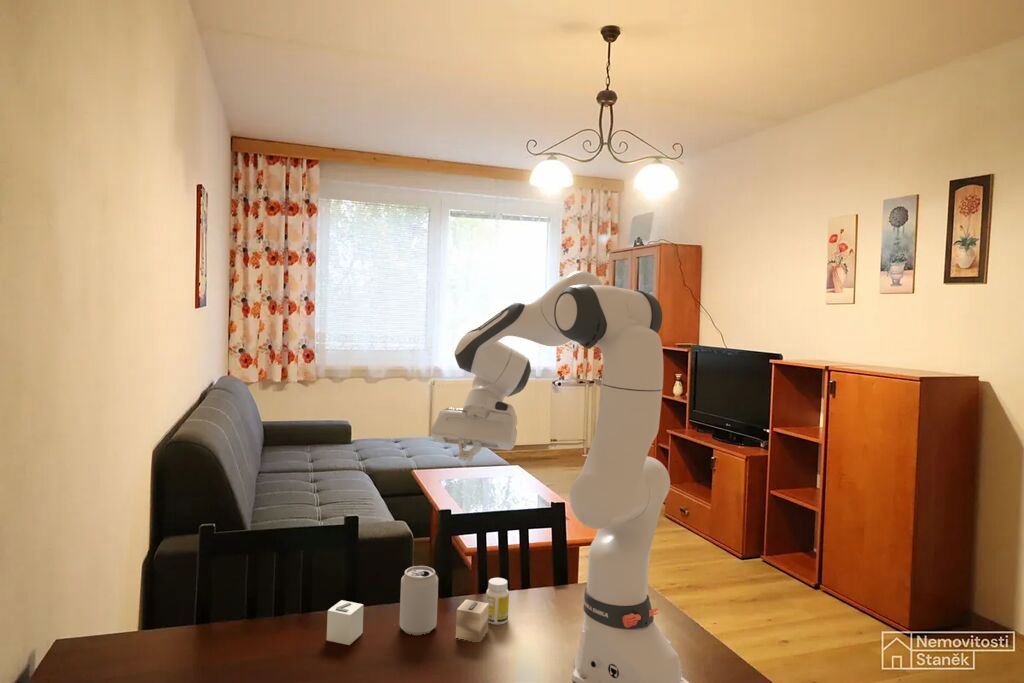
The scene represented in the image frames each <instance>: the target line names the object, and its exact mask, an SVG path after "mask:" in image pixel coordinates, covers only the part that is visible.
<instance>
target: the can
mask: <svg viewBox="0 0 1024 683" xmlns="http://www.w3.org/2000/svg"><path fill="white" fill-rule="evenodd" d="M438 590H439V577H438V575H437V574H436V571H435V569H434V568H432V567H429V566H427V565H426V566H425V565H416V566H415V565H414V566H410V567H408V568H407V569H405V570H404V575H402V577H401V579H400V599H399V602H400V603H399V604H400V606H399V627H400V628H401V630H402V631H404V632H405V633H406V634H408V635H411V634H412V636H421V635H422V634H424V635H427V634H429V633H431V631H433V629H435V628H436V627H437V624H438V623H437V622H438V621H437V619H438V599H439V598H438V594H439V593H438V592H439V591H438ZM426 633H427V634H426ZM422 636H423V635H422Z"/></svg>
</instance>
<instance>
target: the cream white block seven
mask: <svg viewBox="0 0 1024 683" xmlns="http://www.w3.org/2000/svg"><path fill="white" fill-rule="evenodd" d="M364 606H365V605H364V604H362V603H357V602H353V601H347V600H344V599H343V600H342V599H341V600H340V601H338V602H337V603H336V604H333V606H331V607H330V608H329V609H328V610H327V618H326V619H327V620H326V621H327V622H326V641H328V642H333V643H336V644H337V643H338V644H342V645H348V646H350V645H351V644H353V642H355V641H356V640H357V639H358V638H359V637H360V636H362V635H363V634H362V633H363V632H364V631H363V630H364V627H363V626H364ZM361 634H362V635H361Z"/></svg>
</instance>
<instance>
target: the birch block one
mask: <svg viewBox="0 0 1024 683" xmlns="http://www.w3.org/2000/svg"><path fill="white" fill-rule="evenodd" d="M488 614H489V603H486V602H482V601H477V600H472V599H467V598H466V599H465V600H464V601H463V602H462V603H461V604H460V605H459V606H458V607H457V608H456V620H455V621H456V622H455V623H456V624H455V639H456V638H459V639H458V640H460V639H464V640H463V641H465V639H466V640H469V641H468V642H470V641H474V642H473V643H475V642H480V641H481V642H482V640H483V639H484V638H485V636H486V635H487V634H488V632H489V623H488ZM486 633H487V634H486ZM485 634H486V635H485ZM483 637H484V638H483ZM481 642H480V643H481Z"/></svg>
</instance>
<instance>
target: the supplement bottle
mask: <svg viewBox="0 0 1024 683" xmlns="http://www.w3.org/2000/svg"><path fill="white" fill-rule="evenodd" d="M485 593H486V594H485V597H486V598H485V603H489V614H488V624H490V623H491V625H494V626H495V625H496V626H497V625H504V624H506V623H507V622H508V620H509V602H510V600H509V599H510V591H509V589H508V580H507V579H505V578H502V577H493V578H490V579H489V580H488V586H487V589H486V592H485Z"/></svg>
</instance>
